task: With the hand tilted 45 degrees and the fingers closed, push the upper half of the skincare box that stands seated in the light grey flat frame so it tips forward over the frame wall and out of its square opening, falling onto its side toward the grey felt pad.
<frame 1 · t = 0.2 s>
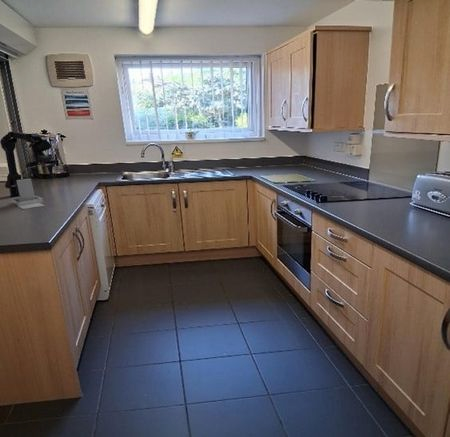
hand: (45, 176, 235), 15 cm above the counter, tool pointing down, fingers open, 9 cm apart
pad: (31, 206, 217), on the counter
skincare box: (28, 203, 228), resting in light grey flat frame
light grey flat frame: (28, 202, 228), on the counter
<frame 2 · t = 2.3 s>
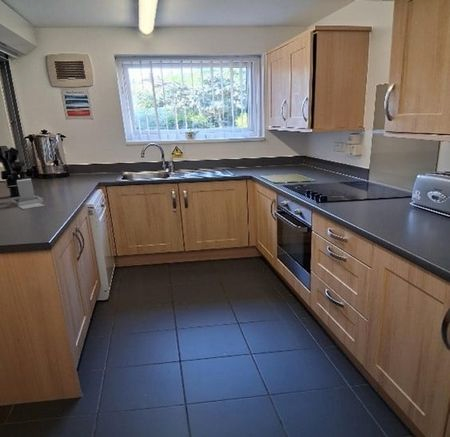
hand: (21, 183, 231), 11 cm above the counter, tool tilted 45°, fingers closed
nothing on the counter moved.
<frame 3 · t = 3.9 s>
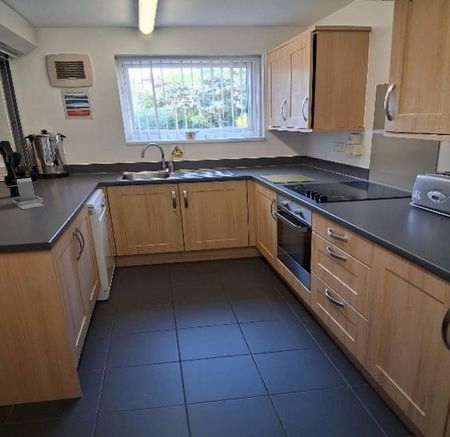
hand: (25, 188, 226), 9 cm above the counter, tool tilted 45°, fingers closed
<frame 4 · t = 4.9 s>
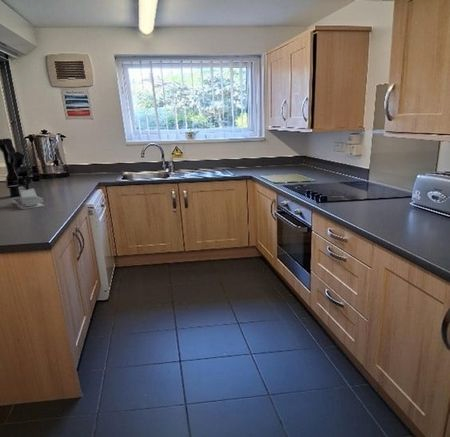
hand: (27, 188, 222), 9 cm above the counter, tool tilted 45°, fingers closed, pressing on skincare box
skincare box: (26, 193, 224), point 7 cm above the counter, touching gripper, pad, light grey flat frame
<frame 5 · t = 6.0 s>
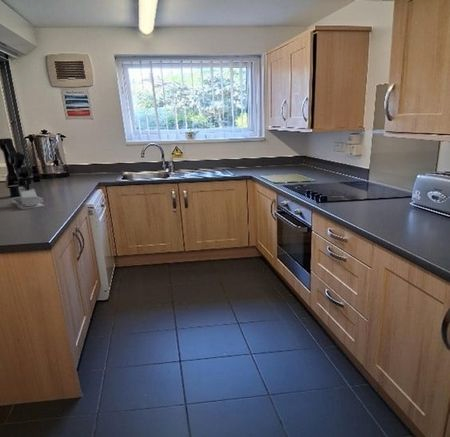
hand: (28, 189, 221), 9 cm above the counter, tool tilted 45°, fingers closed, pressing on skincare box
skincare box: (26, 193, 224), point 6 cm above the counter, touching gripper, pad, light grey flat frame
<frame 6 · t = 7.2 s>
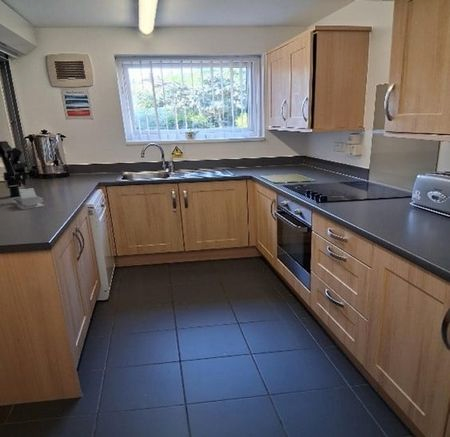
hand: (24, 185, 229), 11 cm above the counter, tool tilted 40°, fingers closed
skincare box: (26, 192, 224), point 7 cm above the counter, touching pad, light grey flat frame
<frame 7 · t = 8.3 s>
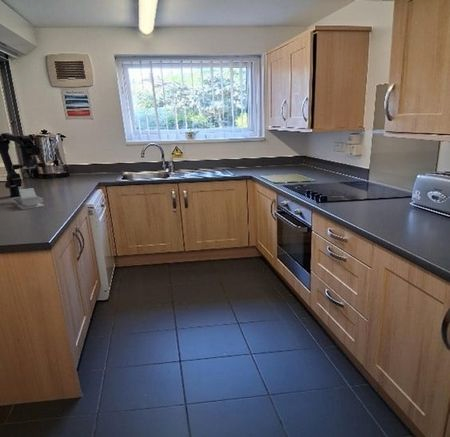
hand: (30, 178, 239), 13 cm above the counter, tool pointing down, fingers closed
nothing on the counter moved.
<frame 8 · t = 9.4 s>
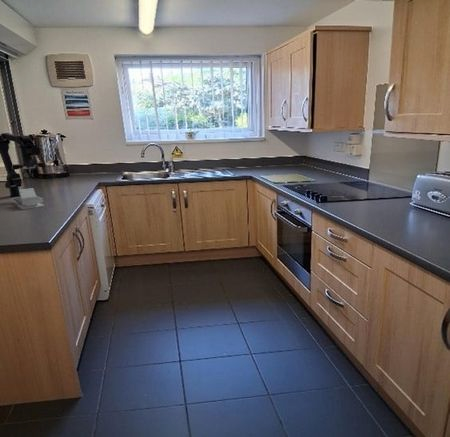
hand: (30, 178, 239), 13 cm above the counter, tool pointing down, fingers closed
nothing on the counter moved.
at the end: skincare box tilted 103°; skincare box moved 7.1 cm from its start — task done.
